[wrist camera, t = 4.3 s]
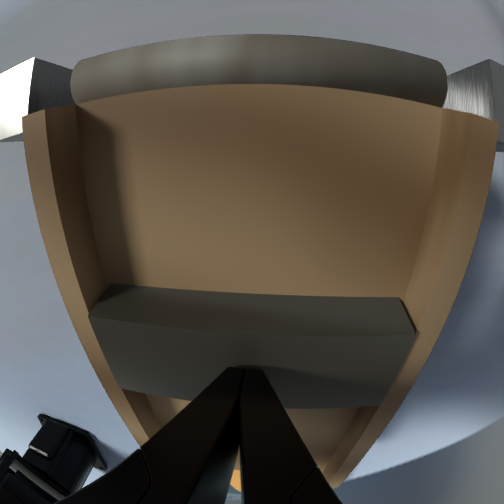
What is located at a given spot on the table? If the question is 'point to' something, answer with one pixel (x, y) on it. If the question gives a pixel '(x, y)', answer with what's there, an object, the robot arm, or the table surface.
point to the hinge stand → (59, 94)
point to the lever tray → (260, 224)
